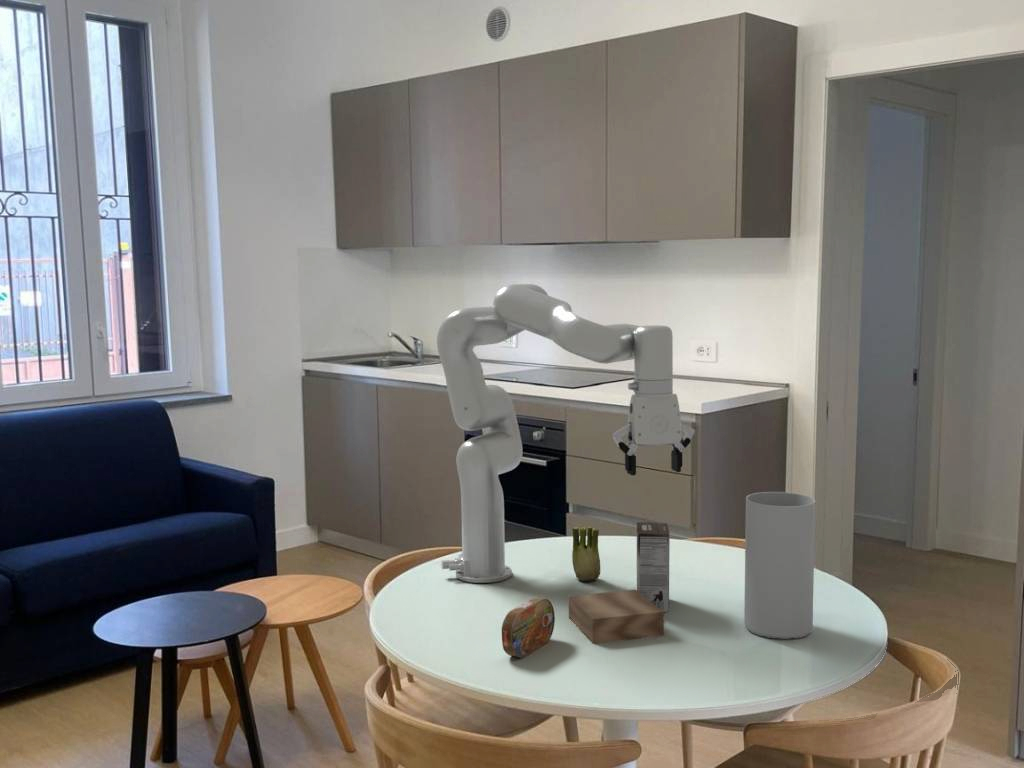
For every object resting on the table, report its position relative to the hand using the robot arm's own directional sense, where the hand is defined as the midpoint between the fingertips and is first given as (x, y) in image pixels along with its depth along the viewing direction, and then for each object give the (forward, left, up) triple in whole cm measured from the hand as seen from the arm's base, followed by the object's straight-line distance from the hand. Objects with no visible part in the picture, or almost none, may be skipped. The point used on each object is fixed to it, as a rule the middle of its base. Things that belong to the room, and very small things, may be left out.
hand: (653, 472), depth 204 cm
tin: (-31, -16, -28) cm, 45 cm away
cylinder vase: (+17, -20, -28) cm, 38 cm away
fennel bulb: (-7, +20, -28) cm, 35 cm away
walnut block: (-12, -10, -28) cm, 32 cm away
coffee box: (0, 0, -28) cm, 28 cm away
